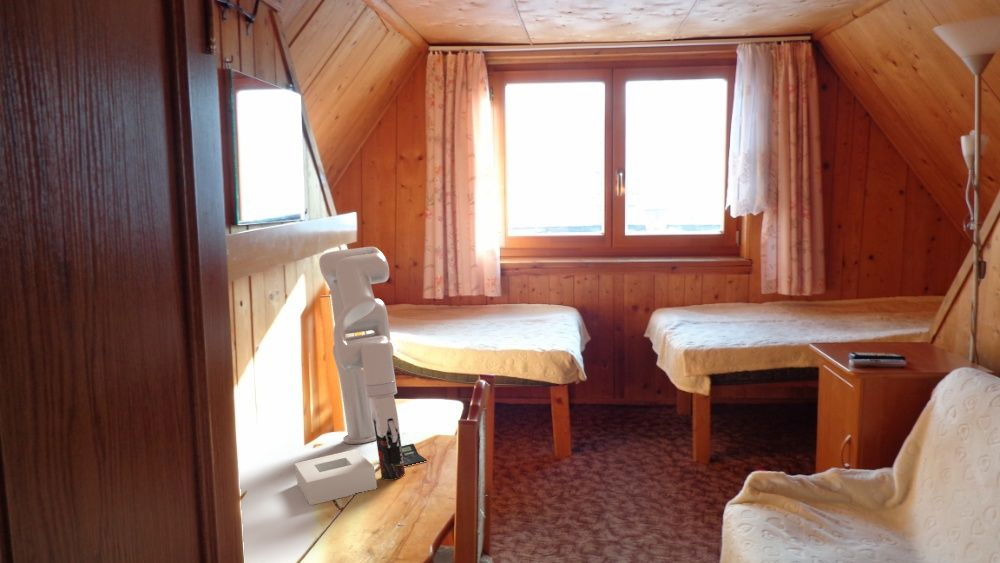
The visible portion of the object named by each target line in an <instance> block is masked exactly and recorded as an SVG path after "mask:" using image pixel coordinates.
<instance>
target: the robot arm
mask: <svg viewBox="0 0 1000 563" xmlns="http://www.w3.org/2000/svg"><path fill="white" fill-rule="evenodd" d="M318 265H319V270H320V272H321V275H322V277H323V279H324V280H325V282H326V284H327V286H328V289H329V292H330V296H331V304H332V305H331V306H332V313H333V314H332V315H333V320H334V328H333V342H334V344H333V346H332V353H333V354H332V355H333V359H334V362H335V365H336V369H337V372H338V376H339V382H340V387H341V395H342V402H343V407H344V416H345V424H346V429H347V435H346V434H345V436H344V437H343V439H342V440H343V443H345V444H348V445H358V444H365V443H370V442H374V441H376V434H375V427H374V420H375V422H376V430H377V435H378V436H379V437H381V438H383V437H384V436H385V439H386V444H387V448H386V452H387V459H388V463H389V464H392V463H397V462H400V461H401V456H400V449H399V443H398V438H397V437H398V436H397V434H398V433H400V423H399V416H398V410H397V405H396V400H395V395H396V394H398V389H397V383H396V382H397V381H396V376H395V375H396V374H395V369H394V360H393V356H394V346H393V342H392V340H391V332H390V323H389V322H390V321H389V316H388V310H387V306H386V304H385V302H384V301H383V300H382V299H380V298H376V297H375V295H374V292H373V288H372V285H374V284H380V283H385V282H387V281H388V280H389V278H390V267H389V262H388V260H387V258H386V256H385V255H384V253H383V252H382V251H381V250H379V249H378V248H377V247H376V246H364V247H357V248H348V249H339V250H335V251H329V252H325V253H324V254H321V256H320V257H319V263H318ZM368 331H369V332H370V331H372V332H371V333H365V334H359V335H358V334H357V333H362V332H368ZM346 334H347V335H349V334H357V335H353V336H351V335H350V336H345V335H346ZM395 428H396V429H397V431H396V429H395ZM388 432H390V433H391V434H390V435H387V433H388ZM390 437H391V438H390ZM388 438H390V440H389V439H388Z"/></svg>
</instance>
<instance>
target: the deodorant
mask: <svg viewBox="0 0 1000 563" xmlns="http://www.w3.org/2000/svg"><path fill="white" fill-rule="evenodd" d="M374 427H375V434H376V440H375V441H376V446H377V454H378V461H379V468H380V469H379V470H380V475H381V479H382V478H384V479H393V480H396V479H395V478H398V477H401V476H403V475H404V474H405V475H406V469H405V468H406V467H404V461H403V454H402V447H401V446H402V442H401V441H402V440H401V434H400V432H399V433H398V434H397V436H398V437H397V438H398V443H399V449H400V456H401V461H400V462H397V463H392V464H389V463H388V459H387V452H386V448H387V444H386V439H385V436H384V437H383V438H381V437H379V436H378V435H377V430H376V422H375V420H374ZM395 429H396V428H395ZM396 431H397V429H396ZM390 434H391V433H390V432H388V433H387V435H390ZM390 438H391V437H390ZM390 438H388V439H389V440H390ZM405 475H404V476H405ZM404 476H403V477H404ZM401 478H402V477H401ZM384 479H383V480H384ZM398 479H399V478H398Z"/></svg>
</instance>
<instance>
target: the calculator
mask: <svg viewBox="0 0 1000 563" xmlns="http://www.w3.org/2000/svg"><path fill="white" fill-rule="evenodd" d="M401 447H402V454H403V461H404V466H408V465H412V464H416V463H420V462H424V461H427V462H428V460H427V458H425V457H424V456H422V455H421V454H420V453H419V452H418V451H417V448H416V446H415V444H414V443H409V444H405V445H401Z"/></svg>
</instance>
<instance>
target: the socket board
mask: <svg viewBox="0 0 1000 563" xmlns="http://www.w3.org/2000/svg"><path fill="white" fill-rule="evenodd" d="M293 464H294V469H295V475H296V482H297V486H298V485H299V486H298V488H299V489H300V491H301V492H302V494H303V495H304V498H305V499H306V502H308V504H309V506H314V505H317V504H322V503H326V502H327V503H328V502H330V501H335V500H337V499H338V498H339V499H342V498H346V497H350V496H353V495H352V494H354V495H356V494H355V493H358V492H362V493H364V492H363V491H366V492H368V491H367V490H370V491H373V490H372V489H374V490H377V489H378V484H377V478H376V471H375V466H374V465H373V464H372V463H371V462H370V461H369V460H368V459H367V458H366V457H365V456H364V455H363V454H361V452H359V451H358V449H357V448H356V449H351V450H347V451H342V452H338V453H333V454H329V455H324V456H320V457H317V458H316V457H315V458H312V459H309V460H303V461H297V462H295V463H293ZM376 488H377V489H376ZM358 494H359V493H358ZM349 495H350V496H349Z"/></svg>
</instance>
